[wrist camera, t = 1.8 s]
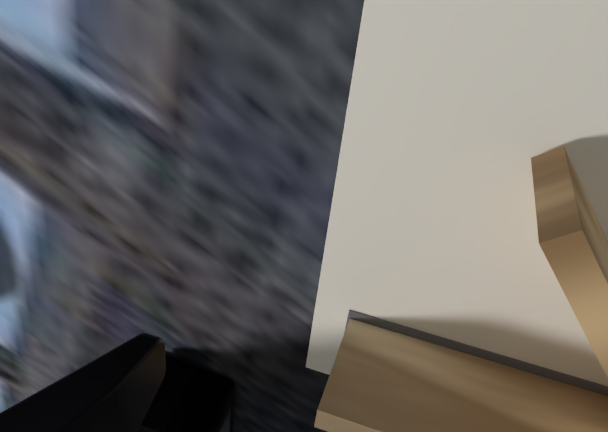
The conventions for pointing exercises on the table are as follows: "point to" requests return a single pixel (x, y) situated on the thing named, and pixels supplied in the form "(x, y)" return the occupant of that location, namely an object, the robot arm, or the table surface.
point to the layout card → (464, 179)
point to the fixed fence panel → (444, 391)
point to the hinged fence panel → (573, 244)
